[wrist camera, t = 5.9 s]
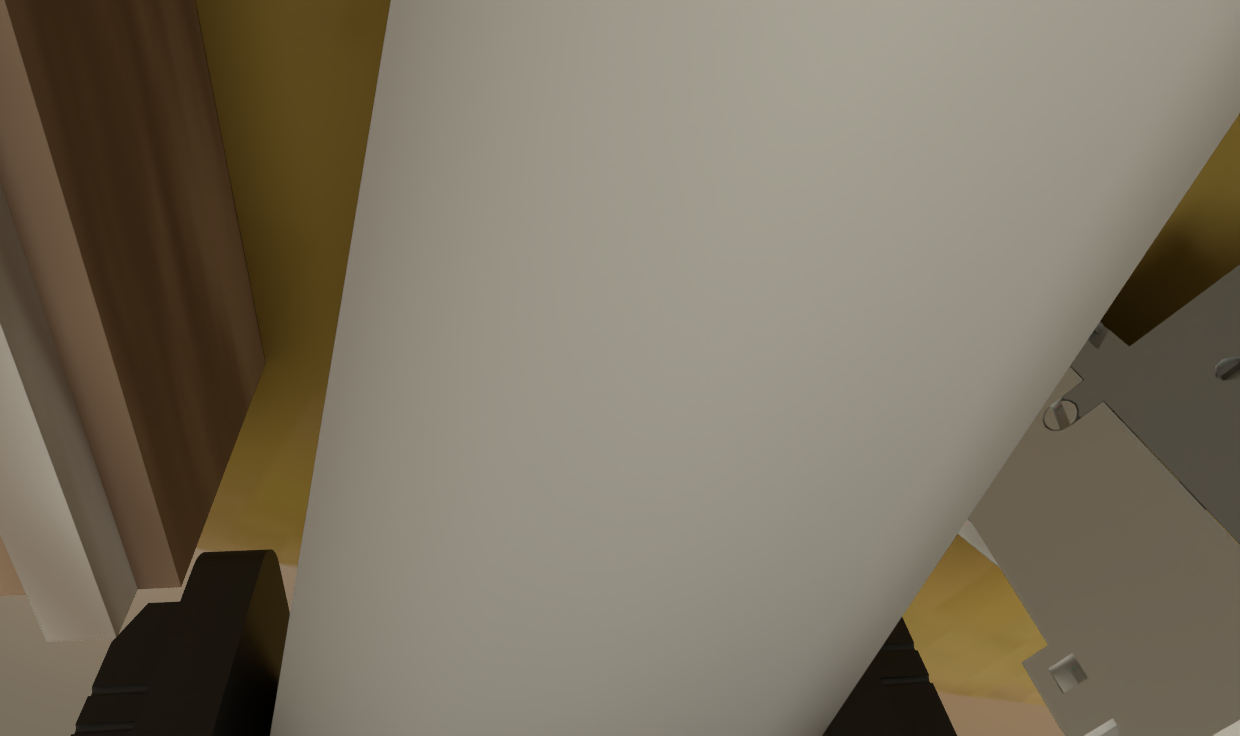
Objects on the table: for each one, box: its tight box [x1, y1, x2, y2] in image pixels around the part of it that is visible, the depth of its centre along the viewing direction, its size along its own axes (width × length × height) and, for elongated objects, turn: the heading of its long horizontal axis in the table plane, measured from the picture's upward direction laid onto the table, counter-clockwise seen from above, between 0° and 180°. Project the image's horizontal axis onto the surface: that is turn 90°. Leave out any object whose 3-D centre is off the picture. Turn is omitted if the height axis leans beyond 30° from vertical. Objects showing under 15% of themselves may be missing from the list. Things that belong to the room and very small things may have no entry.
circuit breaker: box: [958, 265, 1240, 736], centre depth 29 cm, size 8×14×15 cm, turn 136°
